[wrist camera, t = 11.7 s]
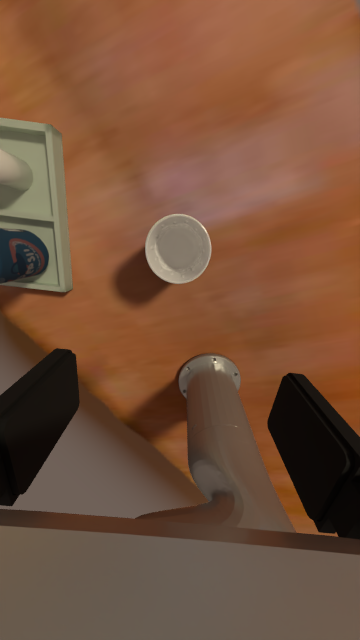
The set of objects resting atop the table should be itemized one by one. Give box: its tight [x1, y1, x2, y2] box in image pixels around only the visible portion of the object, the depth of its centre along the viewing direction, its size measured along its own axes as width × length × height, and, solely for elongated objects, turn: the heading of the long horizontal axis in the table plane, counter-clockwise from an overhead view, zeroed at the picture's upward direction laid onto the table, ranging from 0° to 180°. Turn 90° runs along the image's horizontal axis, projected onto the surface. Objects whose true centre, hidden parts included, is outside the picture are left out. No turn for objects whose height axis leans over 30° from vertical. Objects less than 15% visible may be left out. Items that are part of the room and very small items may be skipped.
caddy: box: [0, 118, 73, 292], centre depth 31 cm, size 22×12×2 cm, turn 173°
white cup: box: [145, 214, 211, 284], centre depth 29 cm, size 8×8×10 cm
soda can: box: [0, 228, 49, 284], centre depth 28 cm, size 7×7×12 cm
